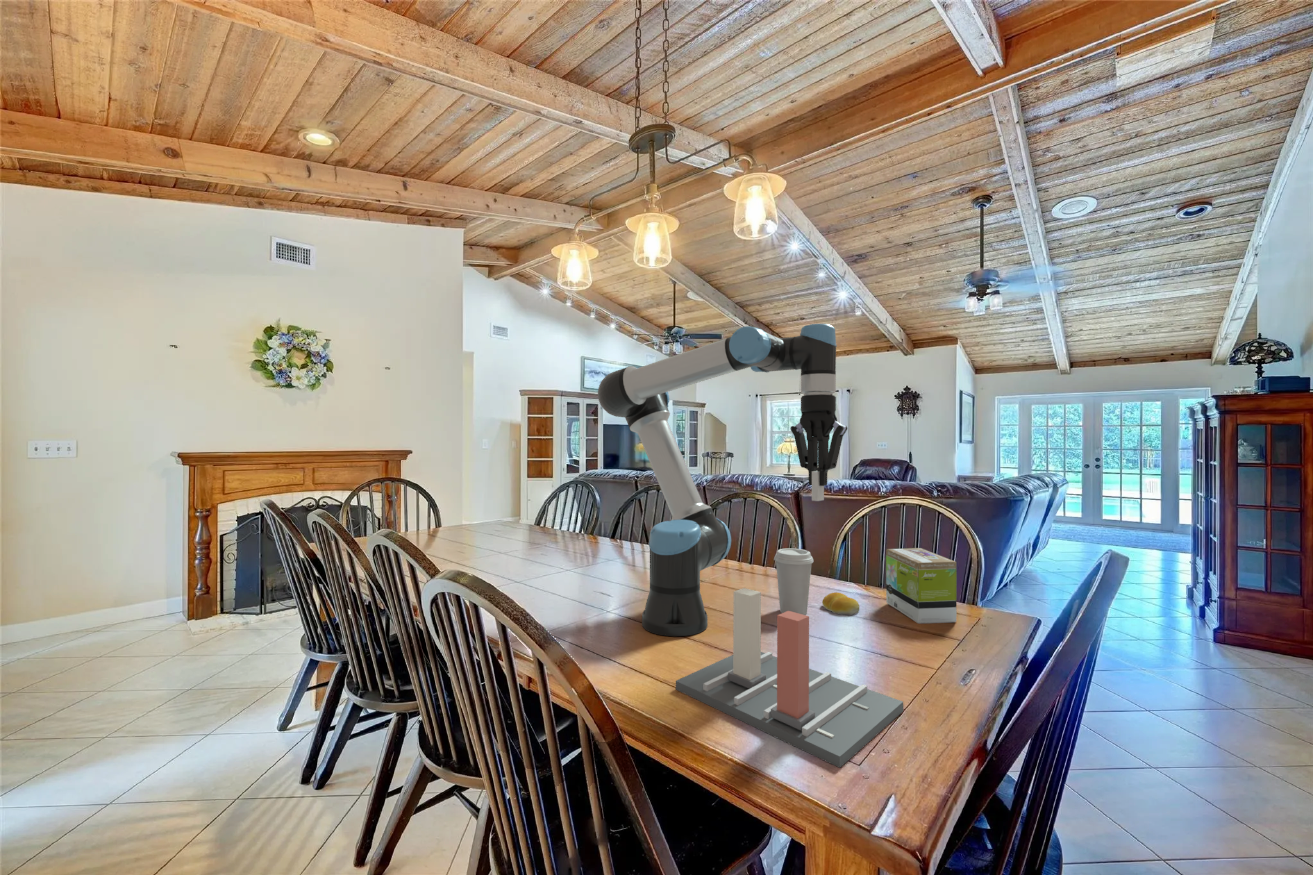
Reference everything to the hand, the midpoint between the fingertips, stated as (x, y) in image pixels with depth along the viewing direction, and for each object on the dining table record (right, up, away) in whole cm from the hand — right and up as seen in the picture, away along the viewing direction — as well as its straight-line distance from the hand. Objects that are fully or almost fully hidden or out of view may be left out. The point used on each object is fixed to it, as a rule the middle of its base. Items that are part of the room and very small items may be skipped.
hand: (817, 500), depth 119 cm
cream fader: (-21, -28, -28) cm, 44 cm away
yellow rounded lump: (+11, -30, +16) cm, 35 cm away
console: (-15, -29, -31) cm, 45 cm away
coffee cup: (-2, -30, +13) cm, 33 cm away
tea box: (+29, -30, +13) cm, 44 cm away
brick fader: (-16, -28, -40) cm, 51 cm away
